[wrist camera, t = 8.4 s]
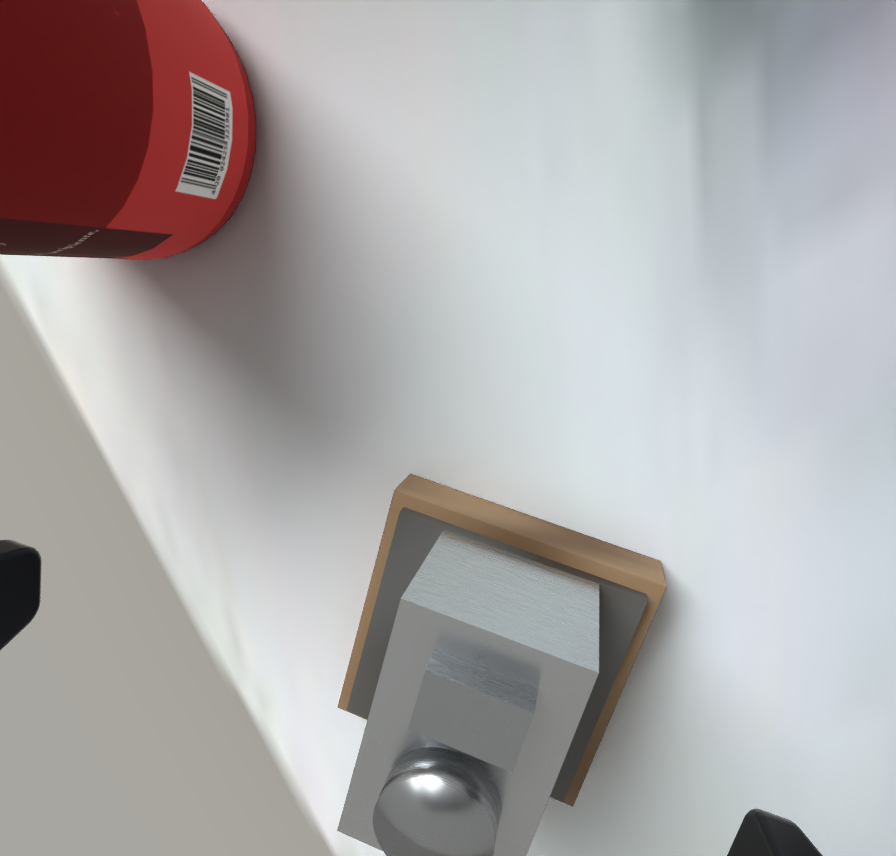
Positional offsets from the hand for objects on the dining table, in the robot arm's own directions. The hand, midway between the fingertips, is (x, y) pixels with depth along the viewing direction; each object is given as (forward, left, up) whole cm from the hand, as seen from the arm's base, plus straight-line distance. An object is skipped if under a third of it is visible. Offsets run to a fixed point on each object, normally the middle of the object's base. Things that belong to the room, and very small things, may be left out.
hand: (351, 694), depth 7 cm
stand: (-1, +6, -12) cm, 13 cm away
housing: (-2, +6, -10) cm, 12 cm away
